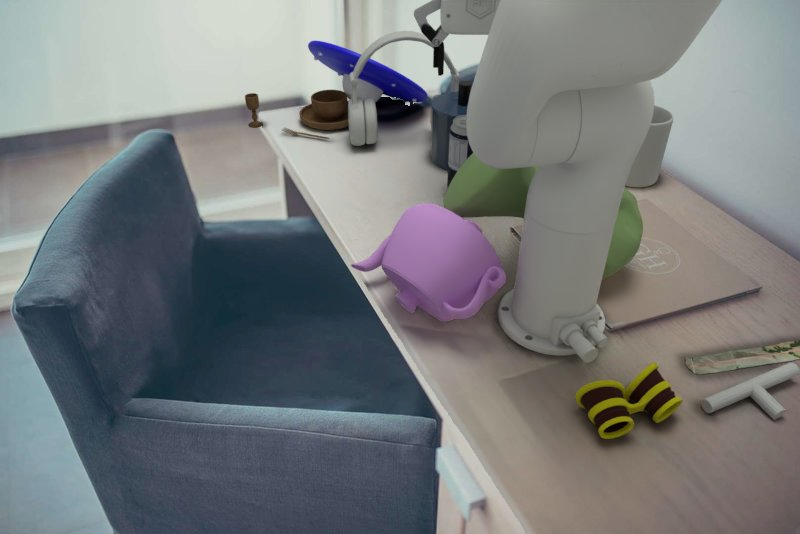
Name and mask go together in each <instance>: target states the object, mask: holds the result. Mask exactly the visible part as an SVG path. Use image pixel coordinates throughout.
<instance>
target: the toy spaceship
mask: <svg viewBox="0 0 800 534" xmlns="http://www.w3.org/2000/svg"><path fill="white" fill-rule="evenodd" d="M307 48H308V50H309V52H310V53H311V54H312V55H313V61H319V62H320V63H321V64H323V65H324V66H325V67H327V68H328V69H330V70H332V71H334V72H335V73H337V75H338V76H339V77H340V76H342V83H341V84H342V91H343V92H345V93H346V94H347V99H348V100H350V98H352V85H351V82H350V76H349V75H350V73H351V72H353V71H354V68H355V66H356V64H357V62H358V60H359V58H360V57H361V55H362V53H358V52H357V51H353V50H351V49H348V48H345V47H343V46H340V45H336V44H335V43H334V44H333V43H331V42H327V41H322V40H311V41H309V42H308V44H307ZM357 81H358V84H357V85H356V92H357V97H358V98H362V100H363V99H365V98H372V99H374V101H375V103H376V102H378V101H379V100H380V99H381V97H382V96H383V95H384V96H387V97H389V98H392V99H396V100H399V101H402V103H404V104H405V103H408V102H409V103H423V102H426V101H427V100H428V98H429V97H428V93H427V91H426V90H425V89H424V88H423V87H422V86H420V84H418V83H416V82H414V81H413V80H412V79H410V78H408V77H407V76H406V75H403V74H402V73H401V72H398V71H397V70H395V69H393V68H391V67H389V66H387V65H385V64H382V63H381V62H379V61H377V60H374V59H372V58H370V59H369V60H368V61H367V63H366V64H365V66H364V68H363V69H362V71H361V73H360V74H359V76H358V77H357ZM394 97H396V98H394ZM397 98H400V99H403V100H404V101H403V100H400V99H397Z"/></svg>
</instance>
